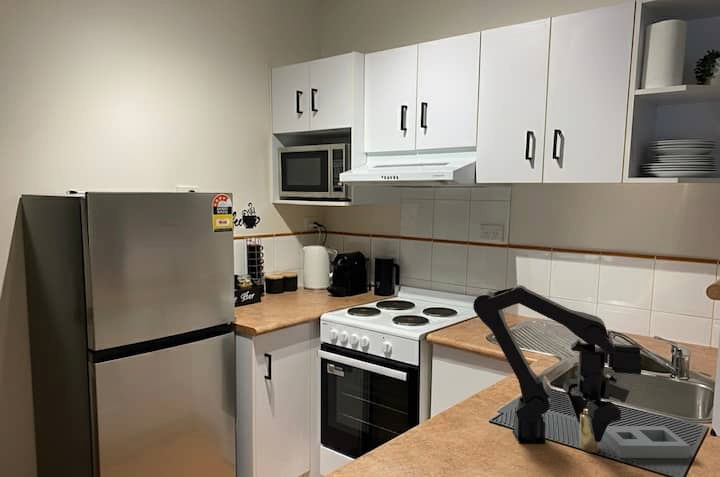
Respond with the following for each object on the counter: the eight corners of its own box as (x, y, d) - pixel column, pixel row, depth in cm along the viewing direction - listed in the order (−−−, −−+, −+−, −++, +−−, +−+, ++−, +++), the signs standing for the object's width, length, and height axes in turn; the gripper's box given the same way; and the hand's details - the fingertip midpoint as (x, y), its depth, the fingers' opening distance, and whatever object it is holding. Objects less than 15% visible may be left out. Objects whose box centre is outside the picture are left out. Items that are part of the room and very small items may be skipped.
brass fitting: (583, 452, 121) (585, 413, 120) (576, 443, 126) (577, 405, 125) (602, 452, 121) (603, 413, 120) (594, 443, 125) (595, 405, 125)
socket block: (620, 458, 118) (620, 445, 118) (600, 437, 128) (600, 426, 128) (689, 458, 118) (690, 445, 118) (664, 437, 128) (664, 426, 128)
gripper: (646, 384, 112) (643, 452, 114) (606, 357, 131) (604, 416, 132) (596, 384, 112) (593, 451, 114) (563, 357, 131) (561, 416, 132)
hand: (589, 432), depth 123 cm, fingers open, 9 cm apart
